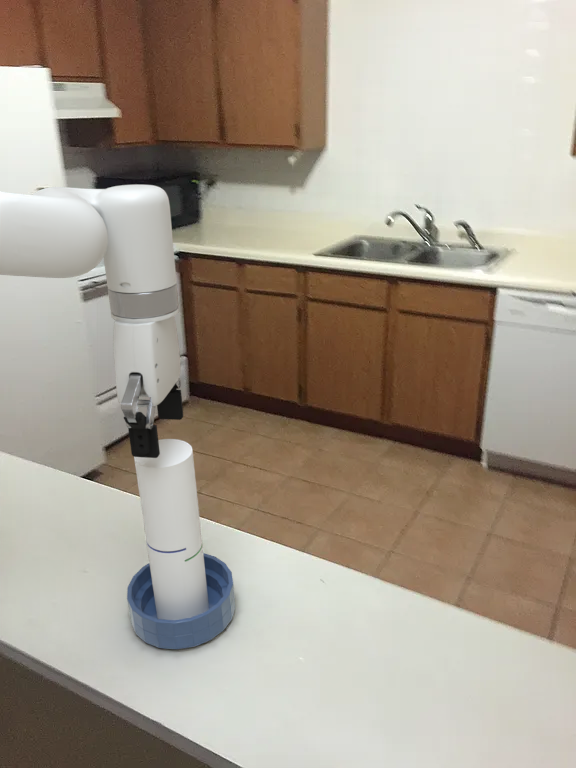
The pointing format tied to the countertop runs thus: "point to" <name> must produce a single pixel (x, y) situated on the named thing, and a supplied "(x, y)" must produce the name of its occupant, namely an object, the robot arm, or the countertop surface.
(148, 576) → the bowl
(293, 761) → the countertop surface
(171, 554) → the cylindrical container
